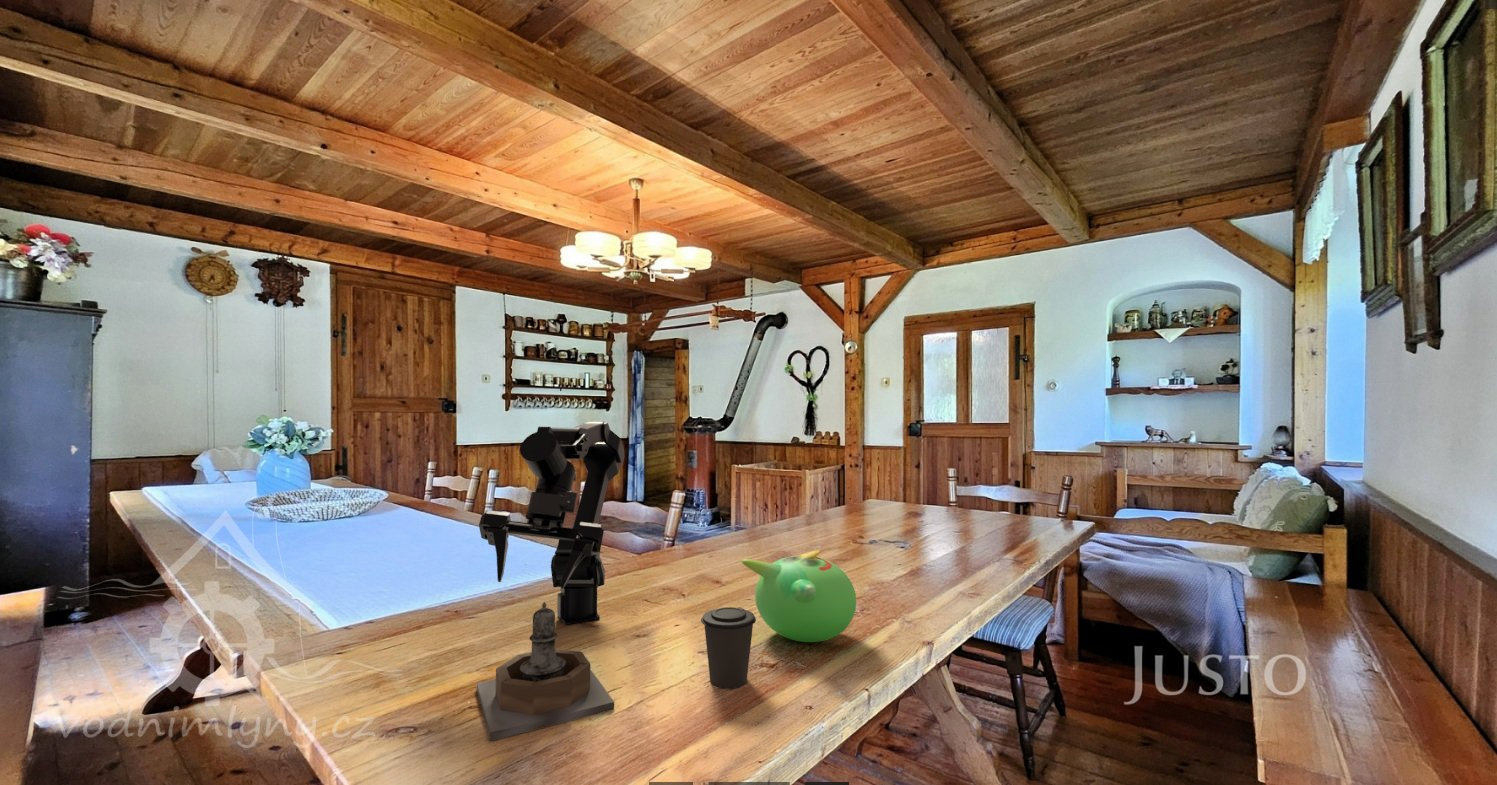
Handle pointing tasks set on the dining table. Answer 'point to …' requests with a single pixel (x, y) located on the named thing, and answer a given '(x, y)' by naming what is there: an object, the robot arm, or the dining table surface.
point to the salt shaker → (543, 649)
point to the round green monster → (804, 597)
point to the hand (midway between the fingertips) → (530, 584)
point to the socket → (540, 696)
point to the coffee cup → (728, 645)
